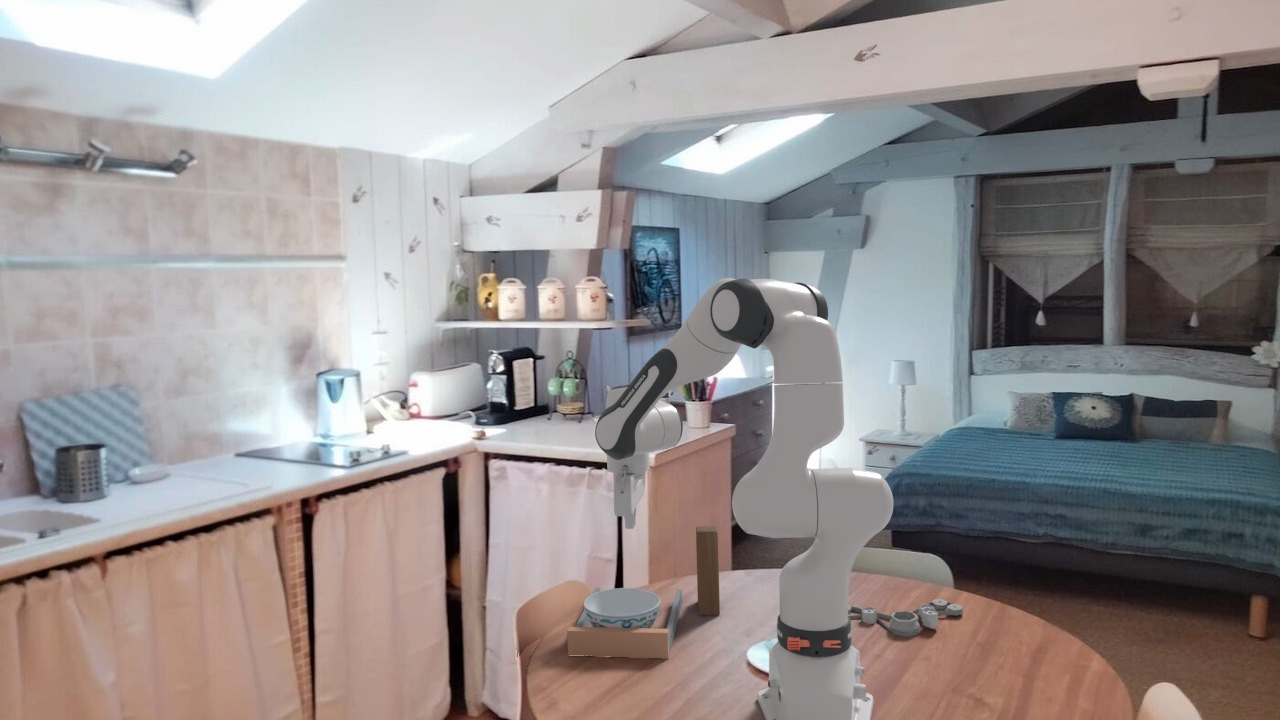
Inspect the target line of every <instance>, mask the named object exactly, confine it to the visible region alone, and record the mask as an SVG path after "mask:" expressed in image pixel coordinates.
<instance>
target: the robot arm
mask: <svg viewBox="0 0 1280 720" xmlns="http://www.w3.org/2000/svg"><path fill="white" fill-rule="evenodd" d="M828 317H829V307H828V301H827V299H826V297H825V296H824V294H823V293H822V292H821V290H819V289H817V288H816V287H814V286H813V285H810V284H806V283H803V282H790V281H783V280H778V279H774V278H752V279H748V278H738V279H737V278H731V277H726V278H725V277H724V278H722V279H719V280H717V281H715V282H714V283H713V284H712V285H711V286H710V288H708V290H707V291H706V292H704V294H703V295H702V297H700V299H699V300H698V302H697V303H696V304H695V306H694V307H693V308H692V310H691V312H690V313H689V314H688V316H687V318H686V319H685V321H684V322H683V323H682V325H681V327H680V328H679V329H678V330H677V332H676V333H675V334H674V335H673V337H672V338H671V339H670V340H669V341H668V342H667V343H665V345H663V346H662V348H660V349H659V350H658V351H657V352H656V353H654V355H652V357H651V358H649V360H648V361H647V362H646V363H645V364H644V366H642V368H641V369H640V370H639V372H638V373H637V374H636V376H635V377H634V378H633V380H632V381H630V384H625V385H617V386H613V387H611V388H610V389H609V390H608V392H607V396H606V401H605V409H604V410H603V411H602V413H600V415H599V418H598V420H597V422H596V425H595V428H594V429H595V430H594V433H595V434H594V437H595V441H596V443H597V445H598V446H599V448H600V450H601V451H602V452H603V453H604V454H606V465H607V466H606V467H607V471H608V472H609V473H613V479H614V481H613V512H614V516H616V517H623V519H624V524H625V525H624V528H625V529H626V530H632V529H634V528H635V526H636V525H637V523H636V521H637V520H636V519H637V518H636V516H637V515H636V514H637V507H638V505H639V503H640V501H641V499H642V498H643V496H644V494H645V485H646V472H647V471H649V470H650V469H651V467H650V453H654V452H659V451H664V450H668V449H671V448H674V447H675V446H677V445H678V443H680V440H681V438H682V435H683V430H684V425H683V418H682V415H681V413H680V412H679V410H678V409H677V407H675V406H674V405H673V404H671V403H668V402H664V401H662V400H661V399H662V398H663V397H664V396H665V395H666V394H667V393H669V392H671V391H673V390H676V389H677V388H679V387H682V386H685V385H687V384H690V383H694V382H697V381H700V380H704V379H707V378H711V377H712V376H715V375H717V374H719V373H720V372H721V371H722V370H723V369H724V368H725V367H726V366H728V365H729V364H730V363H731V361H732V360H733V359H734V357H735V355H736V354H737V353H738V351H739V350H740V348H741V347H742V345H744V346H747V347H749V348H752V349H757V348H758V347H760V346H764V347H765V348H766V349H767V350H768V351H769V352H770V354H771V356H772V361H773V384H774V385H773V391H774V392H773V394H774V395H773V397H774V398H773V399H774V401H773V402H774V403H773V407H774V410H773V411H774V412H773V426H772V432H771V433H772V434H771V437H770V440H769V443H768V446H767V449H766V450H765V452H764V454H763V455H762V457H761V459H759V461H758V463H757V464H756V465H755V466H753V468H752V469H751V470H749V471H748V472H747V473H746V474H745V475H743V477H741V478H740V480H738V482H737V484H736V486H735V488H734V490H733V494H732V499H731V500H732V501H731V507H732V509H731V510H732V512H733V516H734V518H735V520H736V523H737V525H738V526H739V527H740V528H741V529H742V530H743V532H744V533H746V534H748V535H754V536H758V537H764V538H772V539H786V538H787V539H788V538H790V539H791V538H796V539H797V538H815V540H814V542H813V543H812V545H811V546H810V547H809V548H808V549H807V550H806V551H805V552H803V553H800V554H799V555H797V556H796V557H793V558H792V559H790V560H789V561H788V562H787V563H786V564H785V565H784V566H783V568H782V569H781V571H780V573H779V574H780V575H779V578H778V579H779V583H778V584H779V585H778V586H779V589H778V590H779V592H778V593H779V614H778V616H777V618H776V619H777V622H776V632H777V635H776V636H777V641H776V643H775V644H774V645H773V646H772V647H771V648H770V649H769V650H768V681H767V686H768V687H767V688H764V689H761V690H759V691H758V693H757V701H758V703H759V707H760V708H761V712H762V713H763V717H764V719H765V720H872V716H873V715H872V714H873V710H874V709H873V708H874V704H875V702H874V696H873V695H872V694H870V693H869V692H867V684H864V683H861V677H863V676H864V667H863V666H861V663H860V662H861V660H860V659H861V657H860V655H861V654H860V651H859V650H858V649H857V648H856V647H854V646H853V645H852V641H853V640H852V635H853V628H852V623H851V622H852V621H851V620H852V619H850V618H849V617H848V616H849V614H848V604H849V594H850V593H849V590H850V581H851V580H850V579H851V573H852V569H853V567H854V564H855V561H856V559H857V558H858V556H859V554H860V553H861V551H862V549H864V547H865V546H866V545H867V544H868V543H869V541H870V540H871V539H873V537H875V536H876V535H877V534H878V533H880V532H881V531H883V529H885V528H886V526H887V525H888V524H889V522H890V521H891V518H892V515H893V511H894V496H893V492H892V490H891V487H890V485H889V483H888V482H887V480H886V479H885V478H884V477H883V476H882V474H880V473H879V472H877V471H870V470H865V469H859V468H854V467H853V468H852V467H847V468H845V467H843V468H842V467H839V468H835V467H834V468H808V463H809V459H810V457H811V456H812V454H814V452H816V451H818V450H819V449H822V448H823V447H825V446H827V445H829V444H830V443H832V442H833V441H835V440H836V439H838V438H839V436H840V435H841V433H842V432H843V429H844V426H845V415H844V414H845V411H844V410H845V409H844V405H845V404H844V383H843V381H844V380H843V368H842V360H841V359H842V358H841V351H840V347H839V341H838V338H837V333H836V331H835V330H836V329H835V328H834V326H833V325H832V324H831V323H830V321H829V320H828V319H829V318H828Z"/></svg>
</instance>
